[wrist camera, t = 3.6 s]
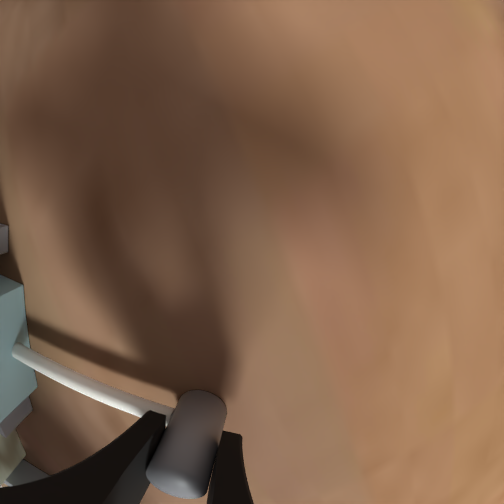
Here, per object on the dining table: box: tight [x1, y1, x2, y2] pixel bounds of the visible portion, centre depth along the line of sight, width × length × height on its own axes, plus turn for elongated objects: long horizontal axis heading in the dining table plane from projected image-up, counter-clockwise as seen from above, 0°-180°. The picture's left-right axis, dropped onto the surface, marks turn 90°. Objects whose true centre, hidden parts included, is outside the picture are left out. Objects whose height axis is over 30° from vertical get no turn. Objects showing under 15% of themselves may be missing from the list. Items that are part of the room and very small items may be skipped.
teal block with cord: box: [0, 275, 227, 499], centre depth 10 cm, size 6×16×4 cm, turn 78°
